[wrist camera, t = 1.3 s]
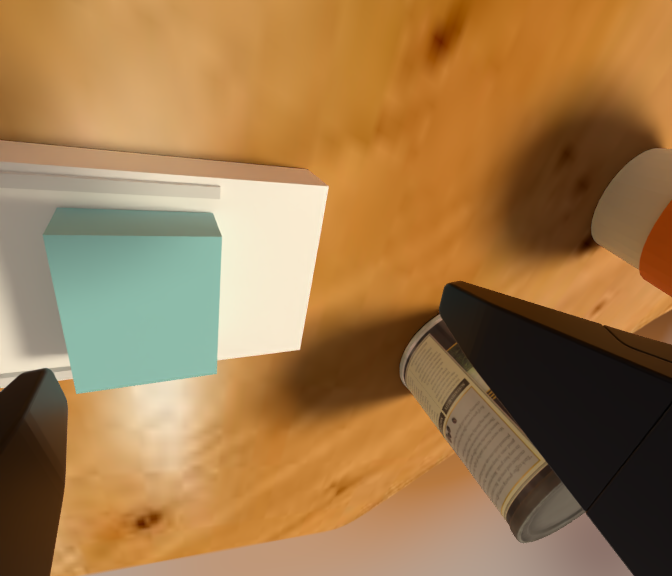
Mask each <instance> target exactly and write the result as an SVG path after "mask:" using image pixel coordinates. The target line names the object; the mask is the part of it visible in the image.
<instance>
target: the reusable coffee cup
mask: <svg viewBox="0 0 672 576" xmlns="http://www.w3.org/2000/svg"><path fill="white" fill-rule="evenodd" d="M591 234H592V237H593V240H594V241H595V242H596V243H597V244H599V245H600V246H602V247H604V248H605V249H607V250H608V251H610V252H612V253H613V254H615V255H616V256H618V257H620V258H621V259H623V260H624V261H626V262H627V263H629V264H631V265H632V266H634V267H635V268H637V269H639V270H640V275H641V276H642V277H643V279H644V280H646V281H648V282H649V283H651V284H652V285H654V286H655V287H657V288H658V289H660V290H662V291H663V292H665V293H666V294H668V295H669V296H671V297H672V149H664V148H654V149H650V150H647V151H645V152H643V153H641V154H639V155H638V156H636V157H635V158H634V159H632V160H631V161H630V162H629V163H627V164H626V165H625V166H624V167H623V168H622V169H621V170H620V171H619V173H618V174H617V175H616V176H615V177H614V178H613V180H612V181H611V182H610V184H609V185H608V187H607V188H606V190H605V191H604V193H603V195H602V197H601V198H600V200H599V202H598V205H597V207H596V209H595V212H594V215H593V219H592V224H591Z"/></svg>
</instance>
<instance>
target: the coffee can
mask: <svg viewBox="0 0 672 576" xmlns="http://www.w3.org/2000/svg"><path fill="white" fill-rule="evenodd" d="M400 378H401V380H402V382H403V384H404V385H405V386H406V387H407V388H408V389H409V390H410V392H411V393H412V394H413V396H414V397H415V398H416V400H417V401H418V402H419V404H420V405H421V406H422V408H423V409H424V410H425V412H426V413H427V415H428V416H429V417H430V419H431V420H432V421H433V423H434V424H435V425H436V427H437V428H438V429H439V431H440V432H441V433H442V435H443V436H444V438H445V439H446V440H447V442H448V443H449V444H450V446H451V447H452V448H453V450H454V451H455V452H456V454H457V455H458V456H459V458H460V459H461V460H462V462H463V463H464V464H465V466H466V467H467V468H468V470H469V471H470V472H471V474H472V475H473V477H474V478H475V479H476V481H477V482H478V484H479V485H480V486H481V488H482V489H483V490H484V492H485V493H486V494H487V496H488V497H489V498H490V500H491V501H492V502H493V504H494V505H495V507H497V509H498V511H499V512H500V513H501V515H502V516H503V517H504V519H505V520H506V521H507V523H508V524H509V526H510V529H511V531H512V532H513V534H514V536H515V537H516V539H517V540H518V541H519V542H522V543H527V542H533V541H536V540H539V539H541V538H543V537H546V536H548V535H550V534H552V533H554V532H556V531H557V530H559V529H561V528H562V527H564V526H566V525H567V524H569V523H571V522H572V521H573V520H575V519H576V518H578V517H579V516H581V515H582V514H583V513H585V512H586V511H584V510H583V509H582V507H581V506H580V505H579V504H578V502H577V501H576V500H575V498H574V497H573V496H572V495H571V493H570V492H569V491H568V489H567V488H566V487H565V485H564V484H563V483H562V482H561V480H560V479H559V478H558V476H557V475H556V474H555V472H554V471H553V470H552V469H551V467H550V466H549V465H548V463H547V462H546V461H545V460H544V458H543V457H542V456H541V454H540V453H539V452H538V450H537V449H536V448H535V447H534V445H533V444H532V443H531V441H530V440H529V439H528V437H527V436H526V435H525V434H524V432H523V431H522V430H521V428H520V427H519V426H518V425H517V423H516V422H515V421H514V419H513V418H512V417H511V415H510V414H509V413H508V412H507V410H506V409H505V408H504V406H503V405H502V404H501V402H500V401H499V400H498V399H497V397H496V396H495V395H494V393H493V392H492V391H491V390H490V388H489V387H488V386H487V384H486V383H485V382H484V380H483V379H482V378H481V377H480V375H479V374H478V373H477V371H476V370H475V369H474V367H473V366H472V365H471V363H470V362H469V361H468V359H467V358H466V356H465V355H464V353H463V352H462V350H461V348H460V347H459V345H458V344H457V342H456V340H455V339H454V337H453V336H452V334H451V332H450V331H449V329H448V328H447V326H446V324H445V323H444V321H443V320H442V318H441V316H440V314H439V315H437V316H436V317H434V318H433V319H431V320H430V321H429V322H428V323H426V324H425V325H424V326H423V327H422V328H421V329H420V330H419V331H418V332H417V333H416V334H415V336H414V337H413V338H412V339H411V341H410V342H409V344H408V346H407V347H406V349H405V351H404V353H403V356H402V359H401V362H400Z"/></svg>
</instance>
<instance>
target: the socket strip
mask: <svg viewBox="0 0 672 576" xmlns="http://www.w3.org/2000/svg"><path fill="white" fill-rule="evenodd" d="M328 188H329V186H328V185H326V184H325V183H324V182H323V181H321V180H320V179H319V178H318V177H316V176H315V175H314V174H313V173H312V172H310V171H309V170H308V169H299V168H288V167H278V166H267V165H257V164H246V163H236V162H225V161H215V160H204V159H193V158H183V157H172V156H162V155H151V154H141V153H130V152H120V151H109V150H99V149H88V148H78V147H67V146H57V145H46V144H36V143H25V142H14V141H4V140H0V388H4V387H6V386H7V385H8V384H10V383H11V382H12V381H13V380H14V379H15V378H16V377H17V376H18V375H20V374H21V373H24V372H27V371H32V370H37V369H42V368H48V369H50V370H51V371H52V372H53V373H54V375H55V377H56V379H57V381H59V380H67V379H73V376H72V371H71V366H70V361H69V357H68V352H67V347H66V343H65V338H64V333H63V329H62V324H61V319H60V314H59V310H58V305H57V300H56V296H55V291H54V286H53V282H52V277H51V272H50V267H49V263H48V258H47V253H46V249H45V244H44V239H43V233H44V231H45V229H46V227H47V226H48V224H49V222H50V220H51V218H52V216H53V214H54V212H55V210H56V208H57V207H59V208H86V209H114V210H141V211H169V212H196V213H213V215H214V217H215V220H216V222H217V225H218V228H219V230H220V233H221V235H222V251H221V276H220V302H219V327H218V352H217V360H224V359H231V358H239V357H247V356H255V355H263V354H271V353H279V352H286V351H294V350H300V346H301V340H302V335H303V329H304V323H305V318H306V312H307V306H308V301H309V295H310V289H311V284H312V278H313V272H314V267H315V261H316V255H317V250H318V244H319V239H320V233H321V227H322V222H323V216H324V210H325V205H326V199H327V193H328Z"/></svg>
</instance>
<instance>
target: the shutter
mask: <svg viewBox="0 0 672 576" xmlns="http://www.w3.org/2000/svg"><path fill="white" fill-rule="evenodd" d="M43 239H44V244H45V249H46V253H47V258H48V263H49V267H50V272H51V277H52V282H53V286H54V291H55V296H56V300H57V305H58V310H59V314H60V319H61V324H62V329H63V333H64V338H65V343H66V347H67V352H68V357H69V361H70V366H71V371H72V376H73V380H74V385H75V390H76V394H79V393H86V392H93V391H100V390H107V389H114V388H121V387H128V386H135V385H142V384H149V383H156V382H163V381H170V380H177V379H184V378H191V377H198V376H205V375H212V374H217V352H218V327H219V302H220V276H221V251H222V235H221V233H220V230H219V228H218V225H217V222H216V220H215V217H214V215H213V213H196V212H169V211H141V210H114V209H86V208H59V207H57V208H56V210H55V212H54V214H53V216H52V218H51V220H50V222H49V224H48V226H47V227H46V229H45V231H44V233H43Z"/></svg>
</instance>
